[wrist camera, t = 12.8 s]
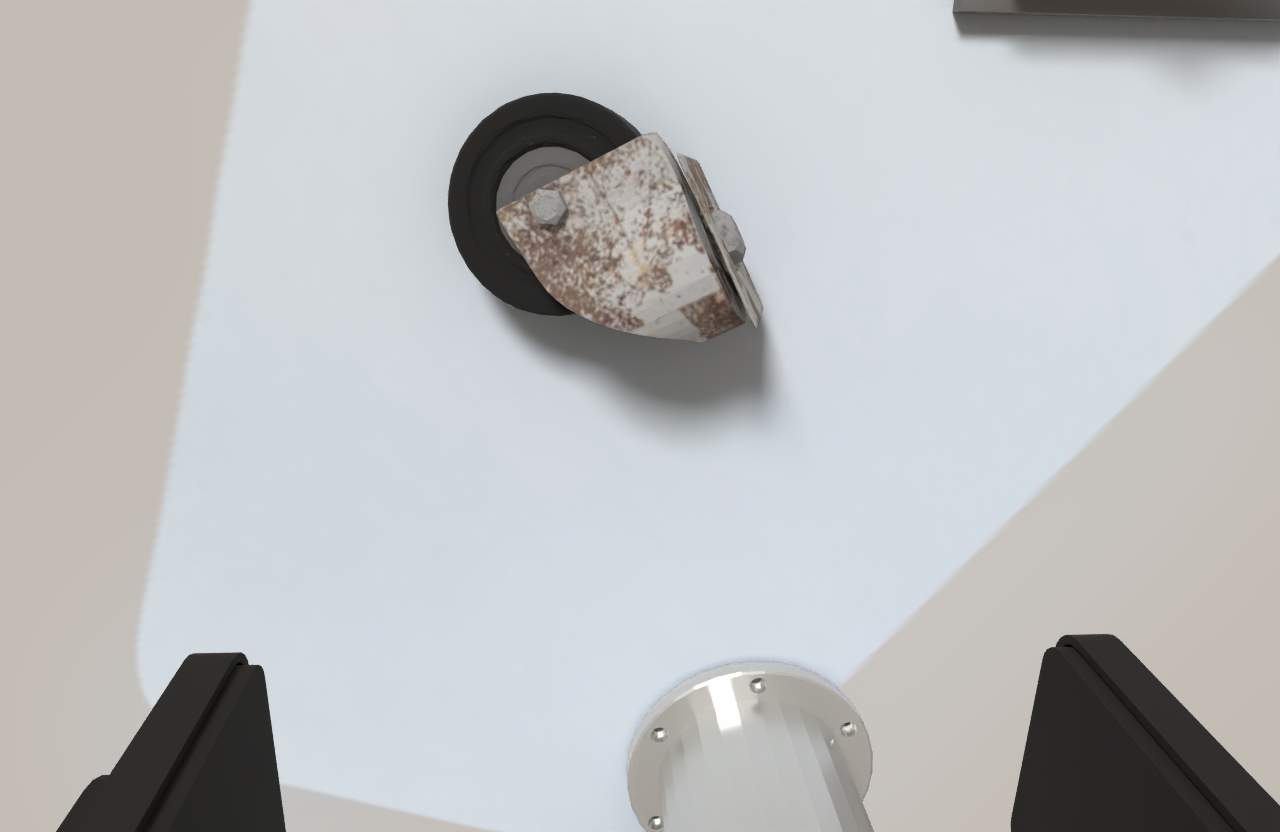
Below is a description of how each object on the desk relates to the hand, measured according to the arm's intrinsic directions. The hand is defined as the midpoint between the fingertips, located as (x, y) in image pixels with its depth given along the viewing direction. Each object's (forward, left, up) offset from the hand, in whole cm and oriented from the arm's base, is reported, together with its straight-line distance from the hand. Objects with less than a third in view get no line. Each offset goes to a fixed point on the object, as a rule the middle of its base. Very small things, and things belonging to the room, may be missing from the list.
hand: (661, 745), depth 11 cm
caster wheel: (+2, 0, -31) cm, 31 cm away
